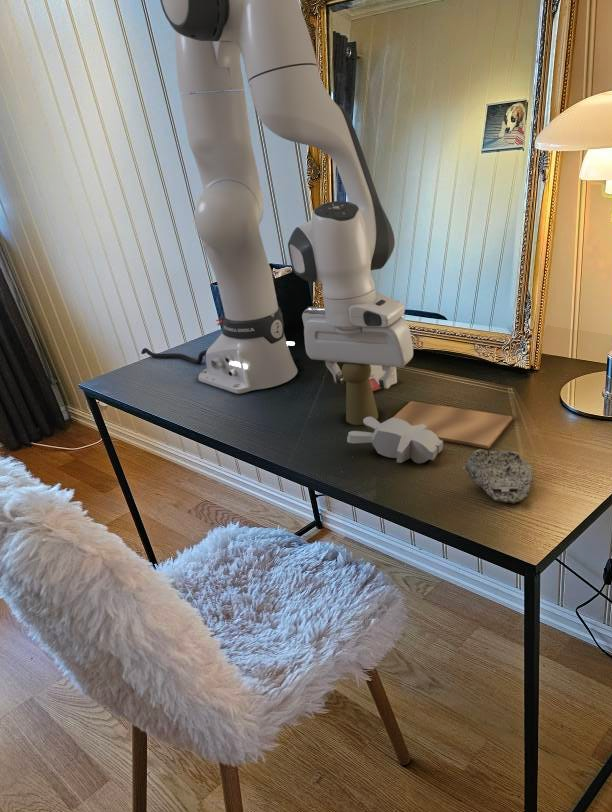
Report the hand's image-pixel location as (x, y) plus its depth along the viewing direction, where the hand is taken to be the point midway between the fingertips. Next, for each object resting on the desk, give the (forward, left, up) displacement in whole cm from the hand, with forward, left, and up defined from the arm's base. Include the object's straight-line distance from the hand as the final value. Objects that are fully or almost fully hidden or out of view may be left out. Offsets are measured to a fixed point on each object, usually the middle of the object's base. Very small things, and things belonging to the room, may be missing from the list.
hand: (362, 384), depth 116 cm
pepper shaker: (-1, 0, -7) cm, 7 cm away
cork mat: (+15, +2, -7) cm, 17 cm away
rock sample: (+32, -13, -7) cm, 36 cm away
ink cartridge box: (-6, +13, -7) cm, 15 cm away
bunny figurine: (+12, -10, -7) cm, 16 cm away
